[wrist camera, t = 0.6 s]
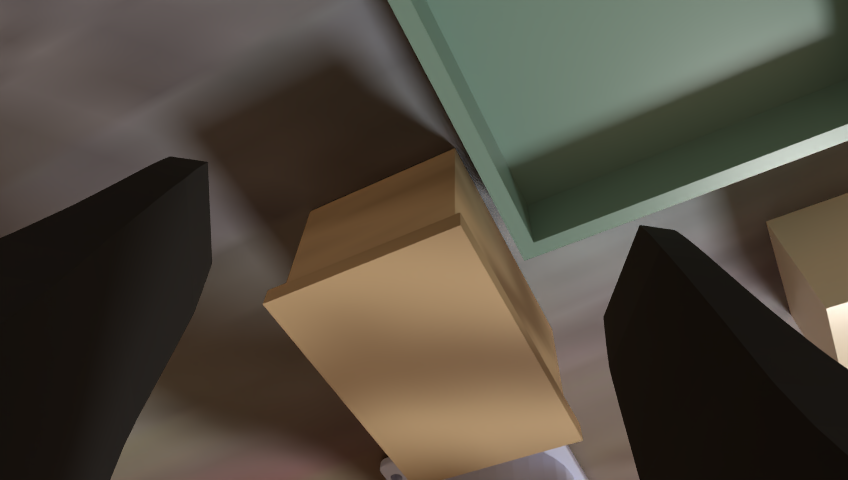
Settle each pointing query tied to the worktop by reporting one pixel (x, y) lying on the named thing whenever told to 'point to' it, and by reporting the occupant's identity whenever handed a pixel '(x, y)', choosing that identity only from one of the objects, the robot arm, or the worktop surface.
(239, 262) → the worktop surface
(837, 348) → the sandstone cube
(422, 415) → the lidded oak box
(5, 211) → the worktop surface
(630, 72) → the tray
